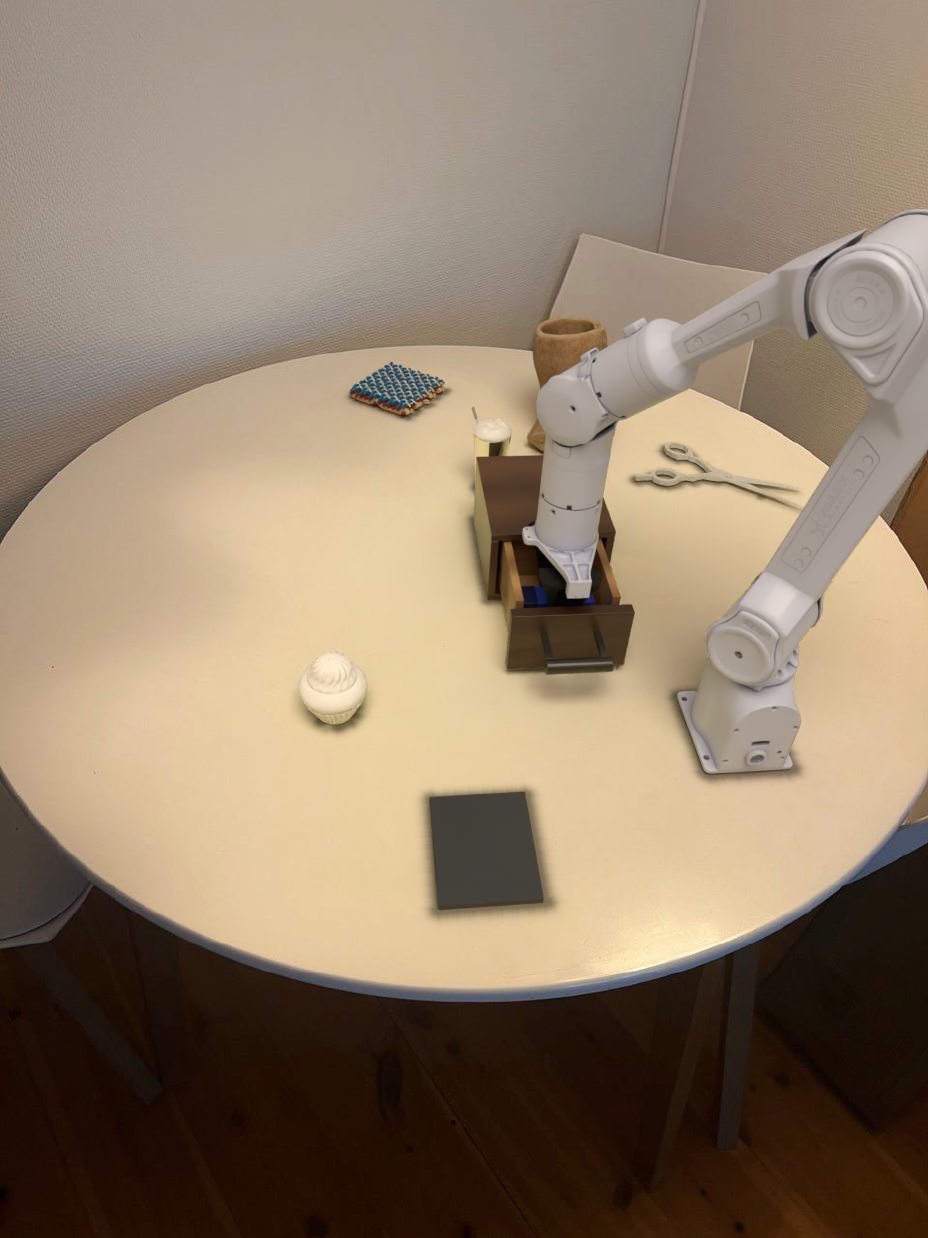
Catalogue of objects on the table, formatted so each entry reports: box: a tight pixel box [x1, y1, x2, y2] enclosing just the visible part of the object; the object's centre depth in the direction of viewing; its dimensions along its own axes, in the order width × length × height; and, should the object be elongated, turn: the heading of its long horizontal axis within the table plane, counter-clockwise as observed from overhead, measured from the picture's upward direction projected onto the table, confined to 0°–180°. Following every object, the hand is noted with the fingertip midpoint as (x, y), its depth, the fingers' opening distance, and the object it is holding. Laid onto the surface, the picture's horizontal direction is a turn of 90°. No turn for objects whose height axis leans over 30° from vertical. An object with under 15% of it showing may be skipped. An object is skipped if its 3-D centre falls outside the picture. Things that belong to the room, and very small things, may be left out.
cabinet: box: [473, 454, 617, 601], centre depth 96 cm, size 15×13×9 cm
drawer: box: [498, 538, 636, 676], centre depth 86 cm, size 18×11×7 cm, turn 5°
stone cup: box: [526, 316, 608, 453], centre depth 114 cm, size 15×12×15 cm
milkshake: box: [471, 406, 513, 476], centre depth 106 cm, size 4×5×10 cm
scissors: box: [633, 441, 804, 507], centre depth 111 cm, size 11×1×20 cm
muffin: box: [297, 650, 369, 726], centre depth 78 cm, size 6×6×7 cm
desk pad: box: [429, 791, 545, 911], centre depth 70 cm, size 10×8×1 cm
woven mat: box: [348, 361, 446, 416], centre depth 125 cm, size 10×11×2 cm
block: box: [521, 586, 594, 608], centre depth 88 cm, size 3×7×3 cm, turn 95°
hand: (555, 606), depth 88 cm, fingers open, 5 cm apart
